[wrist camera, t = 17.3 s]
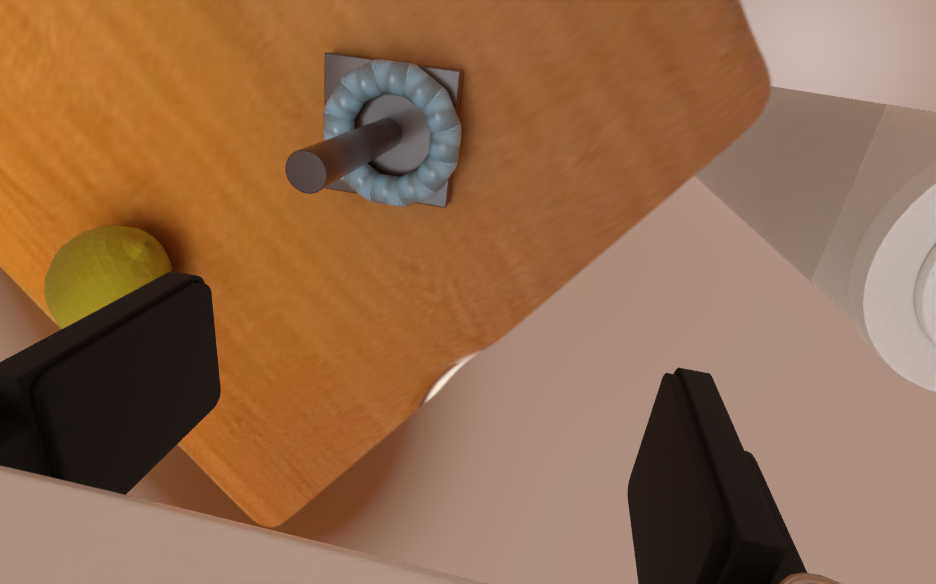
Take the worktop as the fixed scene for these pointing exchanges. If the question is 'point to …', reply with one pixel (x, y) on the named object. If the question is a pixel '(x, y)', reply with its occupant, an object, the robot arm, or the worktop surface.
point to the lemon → (101, 270)
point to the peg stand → (372, 136)
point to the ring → (435, 110)
